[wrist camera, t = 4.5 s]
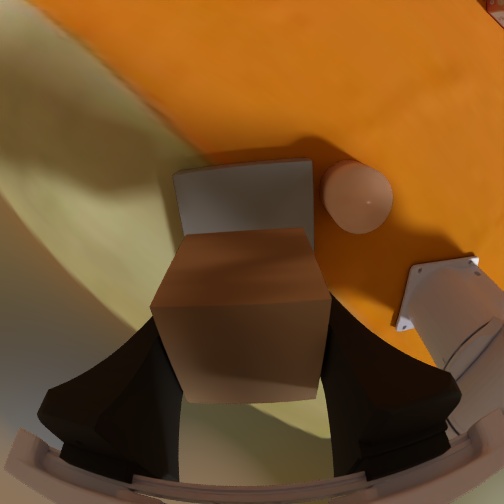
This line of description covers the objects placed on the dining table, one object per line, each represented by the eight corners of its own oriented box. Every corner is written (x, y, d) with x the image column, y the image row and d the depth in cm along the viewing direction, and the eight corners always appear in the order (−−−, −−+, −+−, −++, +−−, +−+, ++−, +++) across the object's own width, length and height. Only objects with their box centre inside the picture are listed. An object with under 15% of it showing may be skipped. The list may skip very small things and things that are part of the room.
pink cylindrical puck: (375, 159, 18) (394, 167, 15) (373, 216, 20) (389, 231, 17) (317, 160, 18) (329, 168, 15) (319, 219, 20) (329, 236, 17)
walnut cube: (302, 227, 12) (331, 298, 7) (300, 317, 14) (315, 398, 9) (186, 234, 12) (149, 307, 7) (204, 322, 14) (188, 402, 10)
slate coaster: (307, 157, 18) (312, 161, 16) (310, 270, 22) (313, 280, 21) (178, 170, 18) (172, 175, 17) (199, 279, 22) (197, 290, 21)
